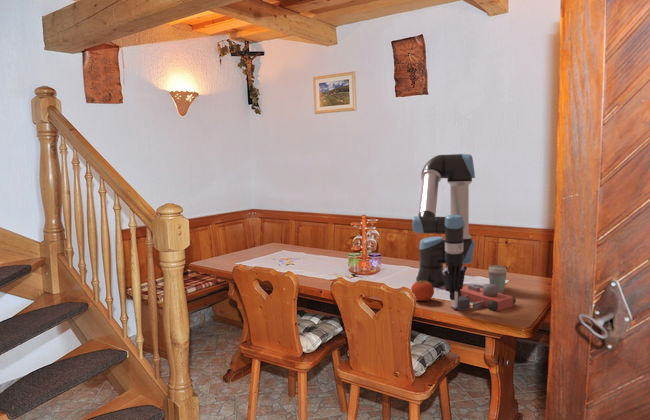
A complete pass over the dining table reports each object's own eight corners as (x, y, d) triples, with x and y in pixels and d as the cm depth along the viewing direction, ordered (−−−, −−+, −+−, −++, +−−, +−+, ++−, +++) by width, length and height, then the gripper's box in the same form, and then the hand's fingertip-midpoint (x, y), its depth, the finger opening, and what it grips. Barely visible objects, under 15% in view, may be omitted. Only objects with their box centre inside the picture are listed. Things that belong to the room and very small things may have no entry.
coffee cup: (508, 294, 218) (508, 269, 217) (489, 294, 220) (489, 269, 219) (505, 289, 227) (505, 264, 225) (486, 288, 228) (486, 264, 227)
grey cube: (451, 307, 204) (451, 298, 204) (461, 304, 207) (461, 296, 207) (459, 310, 200) (459, 301, 200) (469, 308, 203) (469, 298, 202)
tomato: (414, 296, 222) (414, 275, 221) (436, 298, 217) (436, 277, 216) (408, 302, 213) (407, 281, 212) (430, 305, 208) (430, 283, 207)
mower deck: (451, 297, 218) (451, 280, 217) (471, 292, 224) (472, 275, 223) (495, 311, 197) (495, 293, 196) (515, 305, 204) (516, 287, 203)
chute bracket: (456, 303, 209) (456, 297, 209) (466, 300, 213) (466, 295, 212) (474, 309, 201) (474, 303, 201) (484, 306, 204) (484, 300, 204)
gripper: (449, 256, 192) (449, 312, 195) (471, 251, 199) (471, 305, 202) (436, 252, 198) (436, 307, 201) (458, 248, 205) (458, 301, 208)
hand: (454, 306), depth 202 cm, fingers closed
